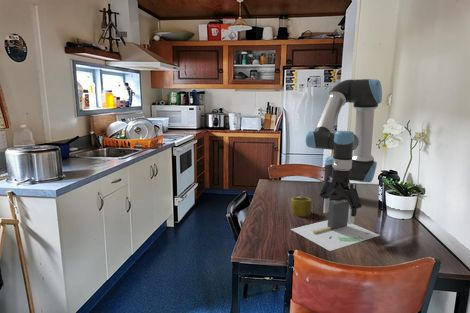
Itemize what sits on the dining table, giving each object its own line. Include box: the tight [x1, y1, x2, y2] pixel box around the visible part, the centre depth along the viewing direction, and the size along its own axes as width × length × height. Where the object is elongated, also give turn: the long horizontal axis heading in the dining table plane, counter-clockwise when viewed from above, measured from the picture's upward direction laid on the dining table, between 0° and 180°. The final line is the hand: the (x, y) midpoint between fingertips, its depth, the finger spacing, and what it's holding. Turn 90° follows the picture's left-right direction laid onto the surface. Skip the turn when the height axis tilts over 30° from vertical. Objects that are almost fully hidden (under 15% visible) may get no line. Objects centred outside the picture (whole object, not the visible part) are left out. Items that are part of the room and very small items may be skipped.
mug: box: [290, 196, 312, 217], centre depth 155 cm, size 12×10×10 cm
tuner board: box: [290, 219, 381, 252], centre depth 133 cm, size 28×22×1 cm
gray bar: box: [313, 199, 350, 233], centre depth 135 cm, size 18×3×11 cm, turn 120°
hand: (338, 217), depth 137 cm, fingers open, 13 cm apart
